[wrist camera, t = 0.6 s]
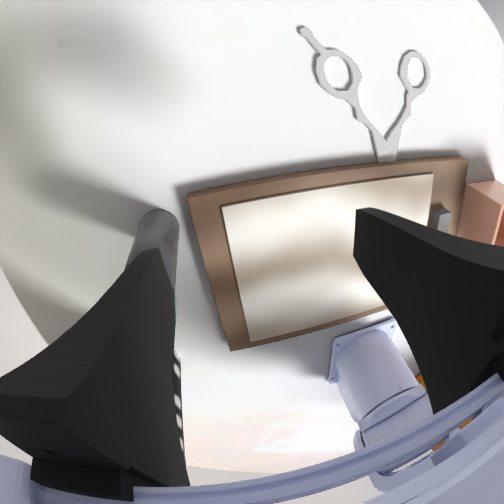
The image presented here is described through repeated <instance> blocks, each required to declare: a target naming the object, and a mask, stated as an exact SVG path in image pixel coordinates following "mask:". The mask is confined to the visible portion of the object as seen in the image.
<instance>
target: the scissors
mask: <svg viewBox="0 0 504 504" xmlns="http://www.w3.org/2000/svg"><path fill="white" fill-rule="evenodd" d="M299 32H300V35H301V36H302V37H304V38H305V39H306V40H307V41H308V42H309V43H310V44H311V45H312V47H313V48H314V49H315V50H316V51H317V53H318V54H319V56H318V57H317V58H316V63H315V73H316V76H317V79H318V82H319V85H320V86H321V87H322V88H323V89H324V90H325V91H326V92H328V93H329V94H330V95H332V96H334V97H336V98H340V99H344V100H345V101H346V102H348V103H349V104H350V105H351V106H352V107H353V108H354V111H355V116H356V120H357V121H359V122H361V123H363V124H364V125H365V126H366V127H367V128H368V129H369V130H370V131H371V135H372V140H373V144H374V148H375V153H376V157H377V162H379V163H380V162H391V161H396V157H397V150H398V143H399V139H400V134H401V128H402V125H403V123H404V121H405V120H406V119H407V118H408V117H409V116H410V109H411V101H412V100H413V99H415V98H416V97H417V96H418V95H420V94H422V93H423V92H424V91H425V89H426V87H427V85H428V83H429V79H430V72H429V66H428V63H427V61H426V60H425V58H424V57H423V56H422V54H421V53H419V52H417V51H410V52H408V53H407V54H405V55H404V56H403V59H402V62H401V64H400V70H399V78H400V79H401V81H402V83H403V85H404V87H405V89H406V91H407V93H406V95H405V108H404V110H403V112H402V114H401V116H400V118H399V120H398V121H397V123H396V124H395V126H394V127H393V128H392V129H391V131H390V132H389V134H388V136H387V137H386V139H384V137H383V136H382V135H381V134H380V133H379V132H378V130H377V129H376V128H375V127H374V126H373V125H372V124H371V123H370V122H369V120H368V119H367V118H366V117H365V115H364V114H363V112H362V110H361V108H360V105H359V100H358V94H357V89H358V85H359V83H360V81H361V78H362V75H361V72H360V70H359V68H358V66H357V64H356V63H355V62H354V61H353V60H352V59H351V58H350V57H349V56H348V55H346V54H345V53H344V52H342V51H339V50H326V49H325V48H324V47H323V46H322V45H321V44H320V43H319V42H318V41H317V40H316V39H315V38H314V36H313V33H312V32H311V31H310V29H309V28H308V27H303V28H301V29H300V30H299ZM330 56H336V57H339V58H342V59H343V60H344V61H345V62H346V64H347V65H348V67H349V69H350V73H351V84H350V86H349V87H348V89H347V91H337V90H336V89H334V88H333V87H332V86H331V85H330V84H329V83H328V82H327V80H326V77H325V73H324V63H325V61H326V60H327V59H328V58H329V57H330ZM412 57H416V58H418V59H420V60H421V62H422V63H423V65H424V68H425V80H424V82H423V83H422V85H421V86H420V87H419V88H413V87H412V86H411V85H410V82H409V80H408V78H407V69H408V63H409V61H410V59H411V58H412Z"/></svg>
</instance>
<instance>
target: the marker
mask: <svg viewBox="0 0 504 504" xmlns="http://www.w3.org/2000/svg"><path fill="white" fill-rule="evenodd" d="M179 229H180V228H179V223H178V220H177V219H176V217H175V216H174V215H173V214H171V213H170V212H168V211H165V210H153V211H150V212H148V213H147V214H146V215H145V216H144V217H143V218H142V220H141V223H140V226H139V228H138V231H137V234H136V237H135V240H134V243H133V245H132V248H131V251H130V254H129V257H128V260H127V264H126V267H125V269H126V268H127V267H128V266H129V265H130V264H131V262H132V261H133V260H134V259H135V258H136V257H137V256H138V254H139V253H141V252H142V251H144V250H148V249H153V248H158V247H159V250H160V253H161V256H162V259H163V262H164V265H165V268H166V271H167V274H168V277H169V279H170V282H171V285H172V288H173V291H174V295H175V281H176V265H177V252H178V240H179ZM124 271H125V270H124ZM175 312H176V296H175ZM175 326H176V321H175Z"/></svg>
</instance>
